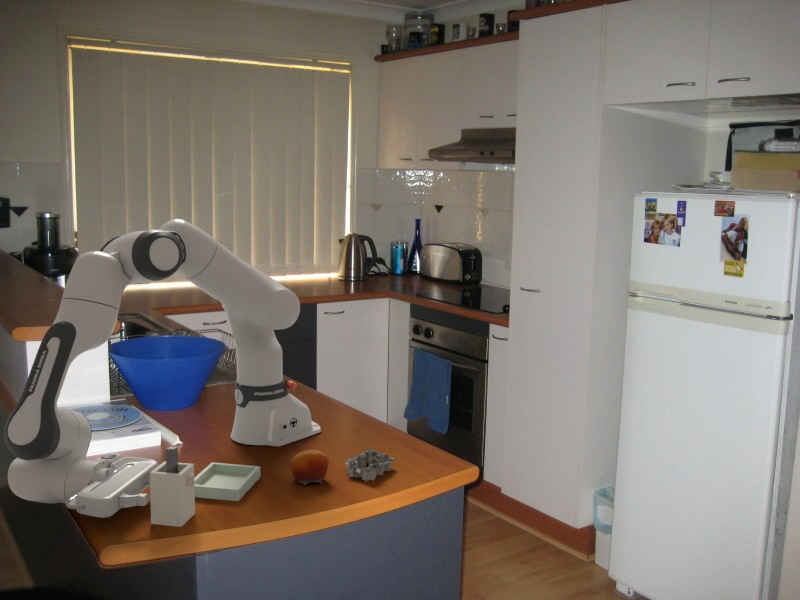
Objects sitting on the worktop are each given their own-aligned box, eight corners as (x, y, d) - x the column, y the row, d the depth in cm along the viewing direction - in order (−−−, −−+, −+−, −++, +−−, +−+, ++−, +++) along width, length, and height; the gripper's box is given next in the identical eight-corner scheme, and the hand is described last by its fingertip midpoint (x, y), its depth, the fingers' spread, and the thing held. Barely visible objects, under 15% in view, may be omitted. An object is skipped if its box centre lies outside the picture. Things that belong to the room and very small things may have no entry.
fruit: (299, 487, 164) (294, 448, 166) (290, 493, 170) (285, 456, 173) (337, 481, 167) (331, 444, 169) (326, 488, 174) (321, 451, 176)
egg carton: (369, 484, 170) (369, 466, 170) (341, 476, 174) (341, 458, 174) (396, 469, 179) (397, 452, 178) (369, 462, 183) (369, 445, 182)
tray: (212, 472, 174) (211, 462, 173) (260, 477, 172) (260, 466, 172) (186, 496, 161) (186, 485, 161) (238, 501, 159) (238, 490, 159)
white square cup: (165, 510, 154) (164, 461, 153) (199, 514, 153) (199, 464, 152) (151, 523, 148) (149, 472, 147) (186, 527, 147) (185, 476, 146)
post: (171, 516, 152) (169, 446, 150) (179, 517, 152) (177, 446, 149) (167, 520, 150) (165, 448, 148) (175, 520, 150) (173, 449, 148)
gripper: (59, 489, 142) (131, 496, 140) (118, 449, 162) (182, 455, 160) (60, 522, 143) (132, 530, 141) (119, 479, 163) (182, 485, 161)
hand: (159, 490), depth 151 cm, fingers open, 8 cm apart
